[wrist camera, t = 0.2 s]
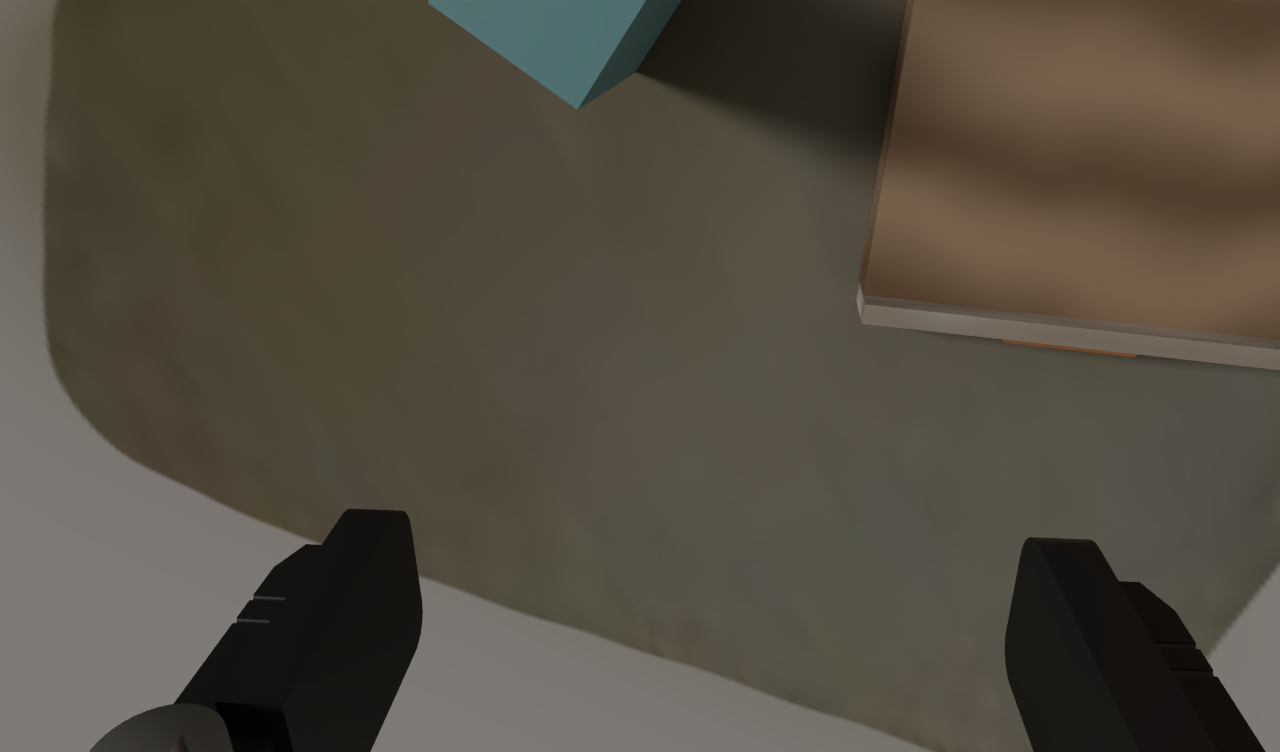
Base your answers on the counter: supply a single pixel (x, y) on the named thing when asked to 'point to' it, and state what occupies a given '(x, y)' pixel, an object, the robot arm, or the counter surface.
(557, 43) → the tea box
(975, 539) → the counter surface
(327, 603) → the robot arm
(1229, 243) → the shelf
